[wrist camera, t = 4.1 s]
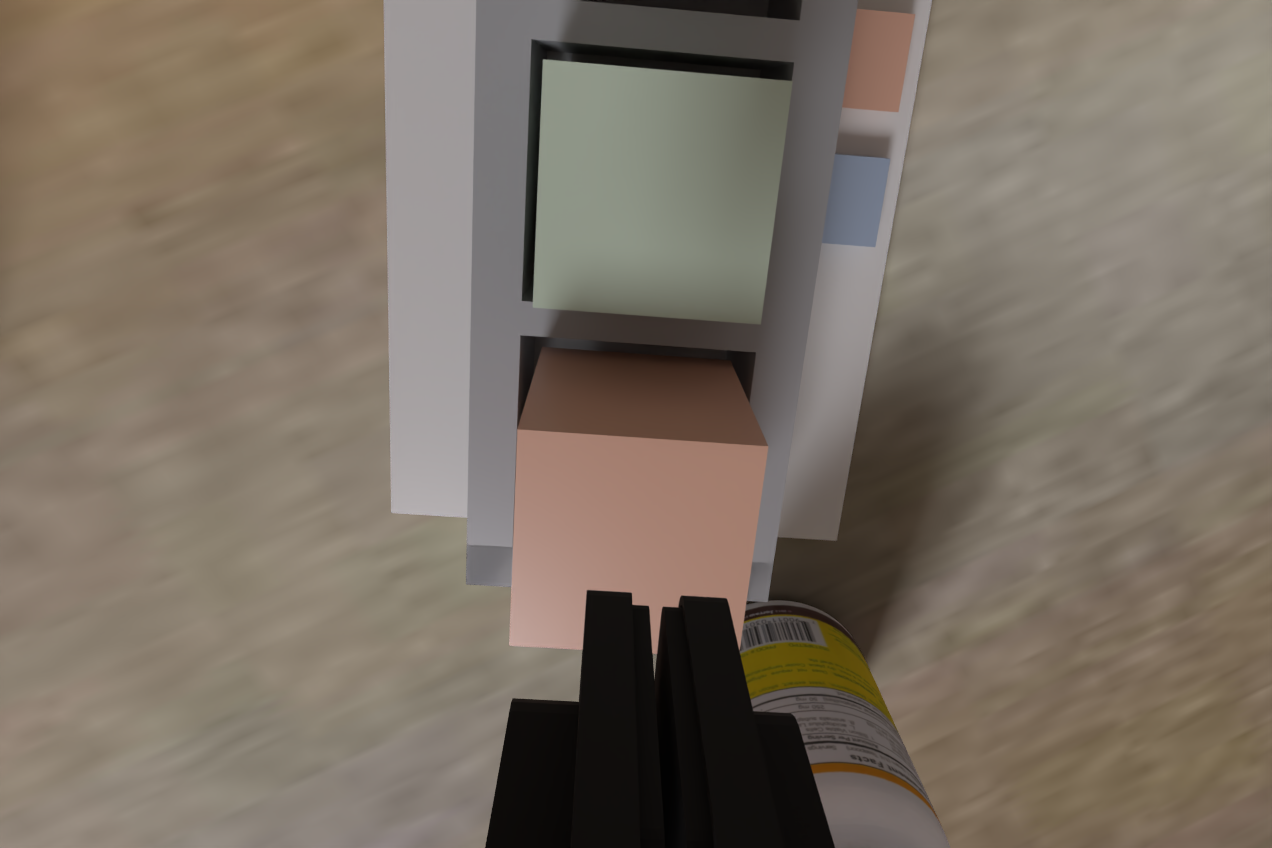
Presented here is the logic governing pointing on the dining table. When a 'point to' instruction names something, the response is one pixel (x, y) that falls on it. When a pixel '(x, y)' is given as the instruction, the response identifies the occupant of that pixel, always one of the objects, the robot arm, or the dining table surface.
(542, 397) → the pink block
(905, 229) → the dining table surface
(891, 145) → the grey block holder
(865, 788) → the supplement bottle
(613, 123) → the key
